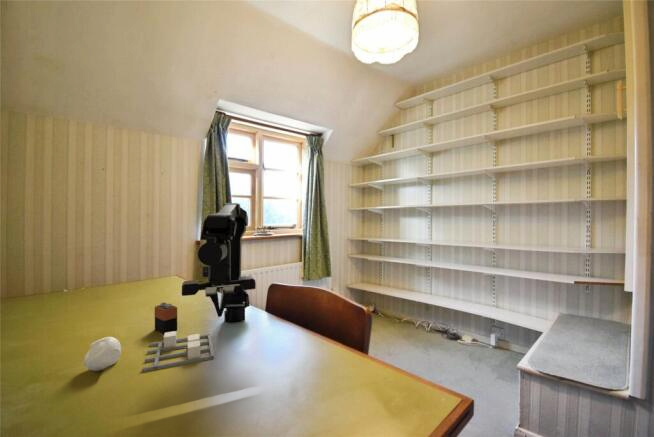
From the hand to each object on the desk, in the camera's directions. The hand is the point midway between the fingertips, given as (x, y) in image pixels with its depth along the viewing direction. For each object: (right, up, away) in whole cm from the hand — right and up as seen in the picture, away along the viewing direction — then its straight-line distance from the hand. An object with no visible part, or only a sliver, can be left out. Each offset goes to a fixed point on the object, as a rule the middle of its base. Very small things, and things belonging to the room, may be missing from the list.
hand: (219, 316), depth 82 cm
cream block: (-6, -10, -3) cm, 12 cm away
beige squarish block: (-8, -10, +2) cm, 13 cm away
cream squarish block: (-15, -10, +4) cm, 19 cm away
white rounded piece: (-27, -11, -6) cm, 30 cm away
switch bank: (-12, -11, 0) cm, 16 cm away
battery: (-23, -11, +15) cm, 30 cm away
